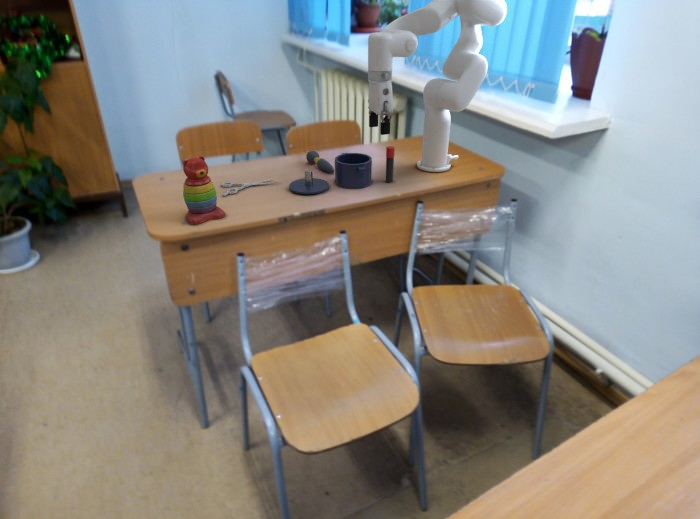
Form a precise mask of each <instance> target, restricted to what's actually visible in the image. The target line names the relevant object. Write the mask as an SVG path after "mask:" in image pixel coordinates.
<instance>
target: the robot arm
mask: <svg viewBox="0 0 700 519" xmlns="http://www.w3.org/2000/svg"><path fill="white" fill-rule="evenodd" d="M507 12H508V8H507V3H506V1H505V0H431V1H430V2H428V3H427V4H426V5H424V6H423V7H420V8H418V9H416V10H413V11H410V12H408V13H405V14H404V15H402V16H399V17H397V18H396V19H394V20H393V21H391V22H390V23H388V24H387V25H386V26H385V27H383V28H382V29H381V31H376V32H371V33H369V35H368V37H367V82H369V83H368V99H367V103H368V106H367V108H368V127H369V128H377V127H379V126H380V127H379V128H380V129H379V131H380V133H379V134H380V136H385V135H390V134H391V122H392V115H393V113H394V94H393V92H394V91H393V84H392V81H393V59H394V58H407V57H410V56H412V55H413V54H415V53H416V51H417V49H418V46H419V41H418V38H417V37H420V36H426V35H430V34H434V33H437V32H439V31H440V30H441V29H442V28H444V27H445V26H446V25H448V24H450V22H452V21H453V20H454V19H456V18H457V17H459V23H460V33H459V36H458V38H457V41H456V42H455V45H454V46H453V47H452V49H451V51H450V52H449V54H448V56H447V57H446V59H445V61H444V63H443V65H442V75H443V76H444V77H445V78H442V77H441V78H440V77H436V78H431V79H430V80H428V81H427V82H426V84H425V86H424V87H423V91H422V98H423V108H424V117H423V118H424V119H423V131H422V143H421V144H422V146H421V148H422V149H421V159H420V160H418V161H417V162H416V167H417V168H418V169H419V170H421V171H424V172H431V173H440V172H441V173H442V172H446V171H449V170H450V169H451V163H450V162H452V161H453V162H454V161H458V160H459V155H458V154H457V155H456V154H454V155H452V153H450V154H448V153H449V143H450V133H451V124H452V116H451V112H453V113H454V112H455V113H456V112H457V113H459V112H463V111H464V110H465V109H466V108H468V106H469V105H470V103H471V102H472V100H473V99H474V97H475V95H476V94H477V92H478V91H479V89H480V87H481V86H482V84H483V82H484V81H485V79H486V77H487V73H488V69H489V68H488V66H489V64H488V61H487V59H486V57H485V56H484V55H482V54H479V53H480V50H481V49H482V47H483V42H484V40H483V35H482V29H481V26H483V27H497V26H499V25H501V24H502V23H503V22H504V20H505V18H506V16H507ZM379 116H380V120H381V121H380V124H379Z"/></svg>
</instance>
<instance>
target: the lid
mask: <svg viewBox="0 0 700 519" xmlns="http://www.w3.org/2000/svg"><path fill="white" fill-rule="evenodd" d="M313 175H314V174H313V169H305V170H304V178H298V179H295V180H292V181H291V182H290V183H289V185H288V188H289V190H290V191H291V192H293V193H295V194H300V195H315V194H320V193H323V192H325V191H327V190H328V189H329V188H330V183H329V182H328V181H327V180H325V179H323V178H318V177H313Z"/></svg>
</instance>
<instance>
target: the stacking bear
mask: <svg viewBox="0 0 700 519" xmlns="http://www.w3.org/2000/svg"><path fill="white" fill-rule="evenodd" d="M182 169H183V173H184V175H185V176H186V179H185V180H184V183H183V184H182V185H183V186H182V187H183V189H182V190H183V191H182V196H183V200H184V204H185V205H186V207H187V210H188V211H187V213H186V220H187V222H188V223H189V224H191V225H200V224H203V223H204V222H206V221H210V220H220V219H223V218H224V217H226V212H225V211H224V209H222V208H221V207H219V206H217V204H218V203H217V202H218V201H217V200H218V199H217V198H218V196H217V194H218V193H217V189H216V187H215V185H214V182H213V181H212V178H211V177H210V176H209V175H208V174H209V165H208V164H207V162H206V161H205V157H204V156H202V155H201V156H198V157H189V158H187V159H184V160H183V161H182Z"/></svg>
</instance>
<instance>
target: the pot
mask: <svg viewBox="0 0 700 519" xmlns="http://www.w3.org/2000/svg"><path fill="white" fill-rule="evenodd" d="M372 163H373V159H372V157H371V156H370V155H368V154H365V153H362V152H361V153H360V152H341V154H338V155H336V156H335V157H334V183H335V185H336V186H338V187H340V188H343V189H349V190H351V189H352V190H353V189H354V190H356V189H363V188H367V187H369V186H370V185H371V184H372V174H373V173H372V170H373V169H372V167H373V166H372V165H373V164H372Z"/></svg>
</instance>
